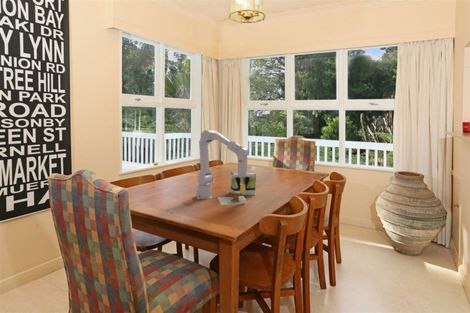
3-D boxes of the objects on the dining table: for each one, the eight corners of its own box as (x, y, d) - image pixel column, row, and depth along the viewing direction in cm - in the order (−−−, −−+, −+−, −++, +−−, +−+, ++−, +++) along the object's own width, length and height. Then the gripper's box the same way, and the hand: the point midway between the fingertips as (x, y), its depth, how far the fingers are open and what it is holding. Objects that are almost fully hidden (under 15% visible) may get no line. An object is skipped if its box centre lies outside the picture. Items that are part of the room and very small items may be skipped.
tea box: (234, 196, 208) (234, 174, 206) (230, 193, 218) (230, 172, 216) (255, 195, 212) (255, 173, 210) (250, 191, 222) (251, 171, 220)
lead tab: (239, 191, 192) (239, 183, 191) (244, 191, 192) (244, 183, 192) (240, 193, 189) (240, 184, 188) (245, 192, 189) (245, 184, 189)
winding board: (221, 205, 186) (221, 196, 185) (217, 198, 203) (217, 189, 203) (247, 204, 189) (247, 195, 188) (241, 197, 206) (241, 188, 205)
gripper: (231, 168, 184) (231, 191, 185) (255, 168, 186) (255, 190, 188) (229, 167, 191) (229, 189, 192) (253, 166, 193) (252, 188, 195)
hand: (242, 189), depth 190 cm, fingers closed on lead tab, 3 cm apart
